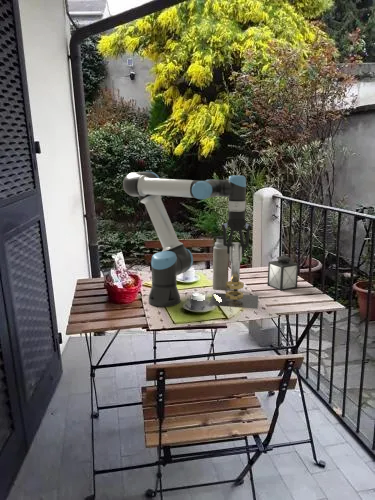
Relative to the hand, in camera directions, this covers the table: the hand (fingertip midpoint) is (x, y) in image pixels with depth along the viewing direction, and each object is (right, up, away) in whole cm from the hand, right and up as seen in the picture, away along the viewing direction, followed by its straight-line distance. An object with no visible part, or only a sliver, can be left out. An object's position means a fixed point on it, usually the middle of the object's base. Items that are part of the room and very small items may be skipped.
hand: (235, 260), depth 190 cm
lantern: (+28, -15, +30) cm, 44 cm away
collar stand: (0, -20, +4) cm, 21 cm away
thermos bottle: (-5, -16, +26) cm, 31 cm away
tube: (0, -9, +2) cm, 10 cm away
